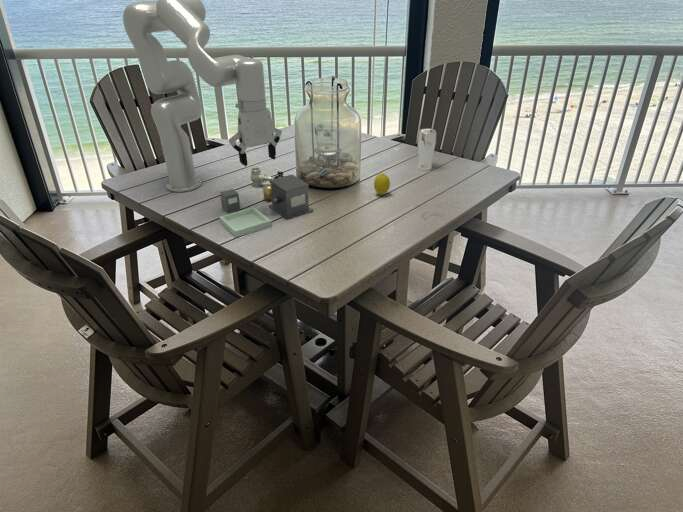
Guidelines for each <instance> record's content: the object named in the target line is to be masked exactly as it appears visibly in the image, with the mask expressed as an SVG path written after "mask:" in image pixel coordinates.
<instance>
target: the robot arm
mask: <svg viewBox="0 0 683 512" xmlns="http://www.w3.org/2000/svg"><path fill="white" fill-rule="evenodd" d="M204 5H205V4H204V3H203V2H202V0H147V1H146V0H145V1H136V2H132V3H130V4H128V5H127V6H126V7H125V9H124V10H123V14H122V22H123V27H124V30H125V33H126V35H127V37H128V39H129V41H130V42H131V44H132V46H133V48H134V51H135V53H136V56H137V59H138V62H139V65H140V68H141V71H142V75H143V77H144V80H145V83H146V85H147V88H148V90H149V91H150V92H151V93H152V94H154V95H163V94H168V93H172V92H176V93H177V95H171V96H167V97H162V98H160V99H158V100H156V101H154V102H153V103H152V105H151V107H150V108H151V109H150V114H151V117H152V119H153V122H154V124H155V126H156V127H155V128H156V129H157V132H158V136H159V140H160V145H161V149H162V152H163V153H162V154H163V157H164V161H165V163H164V164H165V166H166V167H165V168H166V171H167V175H168V180H169V181H168V182H166V185H165V186H166V187H165V188H166V189H167V190H168V191H171V192H174V193H183V192H184V193H185V192H190V191H193V190H196V189H198V188H199V187H201V185H202V184H203V183H202V179H200V178H199V177H197V176H196V170H195V163H194V158H193V152H192V147H191V141H190V138H189V136H188V134H187V133H186V132H185V131H184V129H183V128H182V125H184V124H187V123H191V122H195V121H197V120H199V119H200V118H201V117H202V114H203V113H202V112H203V109H202V102H201V99H200V96H199V91H198V89H197V88H198V87H197V85H196V82H195V81H196V80H195V78H194V75H193V72H192V70H193V71H194V72H195V74H197V76H199V78H201V80H202V81H204V82H205V83H206V84H208V85H209V86H211V87H214V88H221V87H222V88H223V87H224V86H230V85H233V84H234V85H235V84H237V89H238V91H237V92H238V98H239V99H238V103H235V108H236V109H239V110H238V114H237V132H236V133H234V135H233V136H231V137H230V138H229V139H228V142H229V144H230V146H231V147H232V148H233V149H234V150H236V151H237V152H238V157H239V163H240V164H241V165H243V166H245V167H247V166H248V157H247V156H248V155H247V153H246V151H247V148H252V147H257V146H262V145H267V144H268V145H267V152H268V158H270V159H271V160H276V155H277V152H276V151H277V150H276V149H277V145H278V143H279V141H280V140H281V137H282V136H281V135H282V133H283V131H282V130H281V129H280V128H277V127H274V124H273V118H272V114H271V111H270V108H268V107H267V100H266V86H265V76H264V75H265V73H264V64H263V62H262V60H261V59H259V58H248V57H246V56H243V55H240V54H230V55H224V56H219V57H211V56H210V55H209V54H208V53H206V51H205V50H204V48H205V46H207V44H208V43H209V40H210V37H211V31H210V27H209V26H208V25H207V23H205V19H206V16H207V15H206V14H207V13H206V8H205V6H204ZM167 31H169V32H170V31H171V32H172V33H173V34H174V35H175V36H176V37H177V38H178V39H179V40H180V41H181V42H182V44H184V45H185V46H186V55H187V56H186V57H187V59H188V63H189V65H190V67H191V68H192V70H191V68H190V67H189V66H188V64H187V63H185V62H184V61H182V60H178V59H173V60H168V58H167V56H166V52H165V50H164V47H163V45H162V44H161V42H160V41H159V40H158V39H157V38H156V37H155V35H154V34H152V33H158V32H160V33H161V32H167ZM237 141H239V144H237Z"/></svg>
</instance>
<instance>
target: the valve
mask: <svg viewBox="0 0 683 512" xmlns="http://www.w3.org/2000/svg"><path fill="white" fill-rule="evenodd" d="M250 172H251V175H250V180H251V182H252V187H253V188H260V187H263V183H267V182H269V180H272V179H276V178H280V177H284V176H285V175H284V171H277V174H276V175H275V176H274V177H273V176H268V175H267V174H264V173H263V174H262V173H261V168H260V167H257V166H256V167H252V168H250Z"/></svg>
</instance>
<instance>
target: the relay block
mask: <svg viewBox="0 0 683 512" xmlns="http://www.w3.org/2000/svg"><path fill="white" fill-rule="evenodd" d="M219 195H220V200H221V206H222V210H224V211H225V212H226V213H227V214H231V213H234V212H238V211H241V202H240V197H239V196H240V194H239V193H238V191H236V190H235V188H234V189H233V188H230V189H227V190H223V191H219Z"/></svg>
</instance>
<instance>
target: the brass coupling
mask: <svg viewBox="0 0 683 512" xmlns="http://www.w3.org/2000/svg"><path fill="white" fill-rule="evenodd" d="M262 194H263V200H264V202H266V203H272V201H271V200H272V190H271V183H266V184H264V185H262Z"/></svg>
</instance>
